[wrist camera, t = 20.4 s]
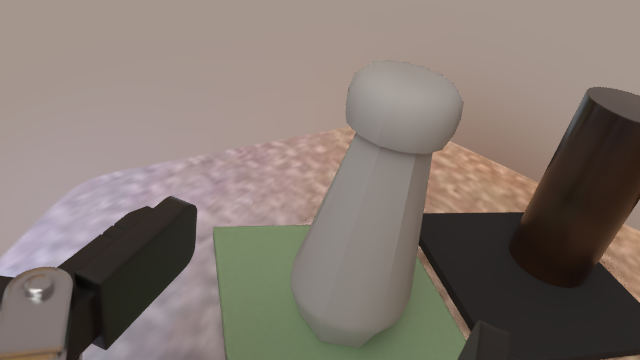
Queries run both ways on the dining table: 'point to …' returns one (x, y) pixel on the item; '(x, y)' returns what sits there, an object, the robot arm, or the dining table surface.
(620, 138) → the dark brown cylinder
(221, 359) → the dining table surface
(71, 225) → the dining table surface
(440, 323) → the sage mat
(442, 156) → the dining table surface
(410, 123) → the salt shaker
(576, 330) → the dark mat
